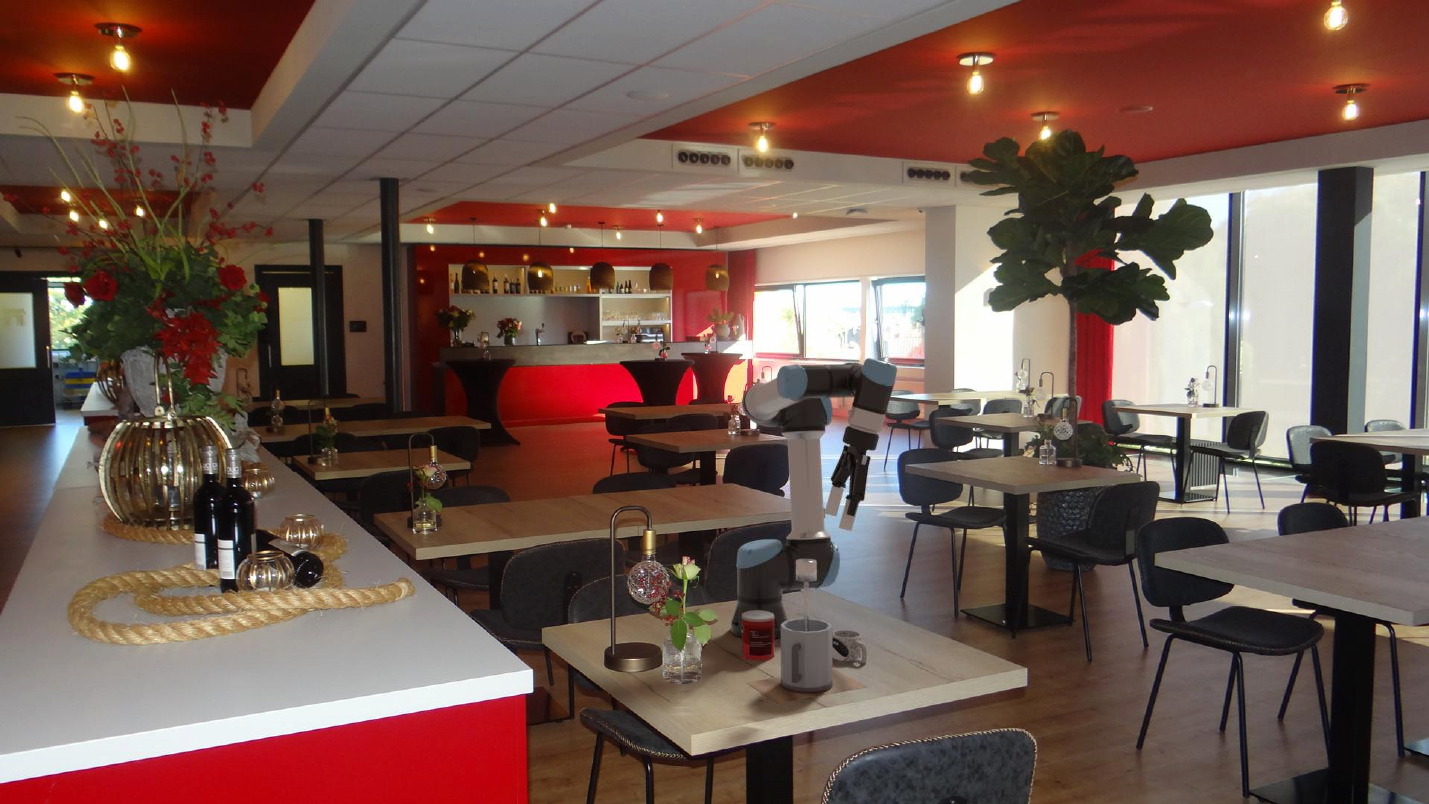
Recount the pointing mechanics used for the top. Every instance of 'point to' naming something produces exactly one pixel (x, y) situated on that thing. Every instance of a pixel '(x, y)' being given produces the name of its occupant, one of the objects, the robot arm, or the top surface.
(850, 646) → the mug
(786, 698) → the serving board
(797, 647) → the grey cup
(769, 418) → the robot arm
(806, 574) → the plunger
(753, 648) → the canned food
